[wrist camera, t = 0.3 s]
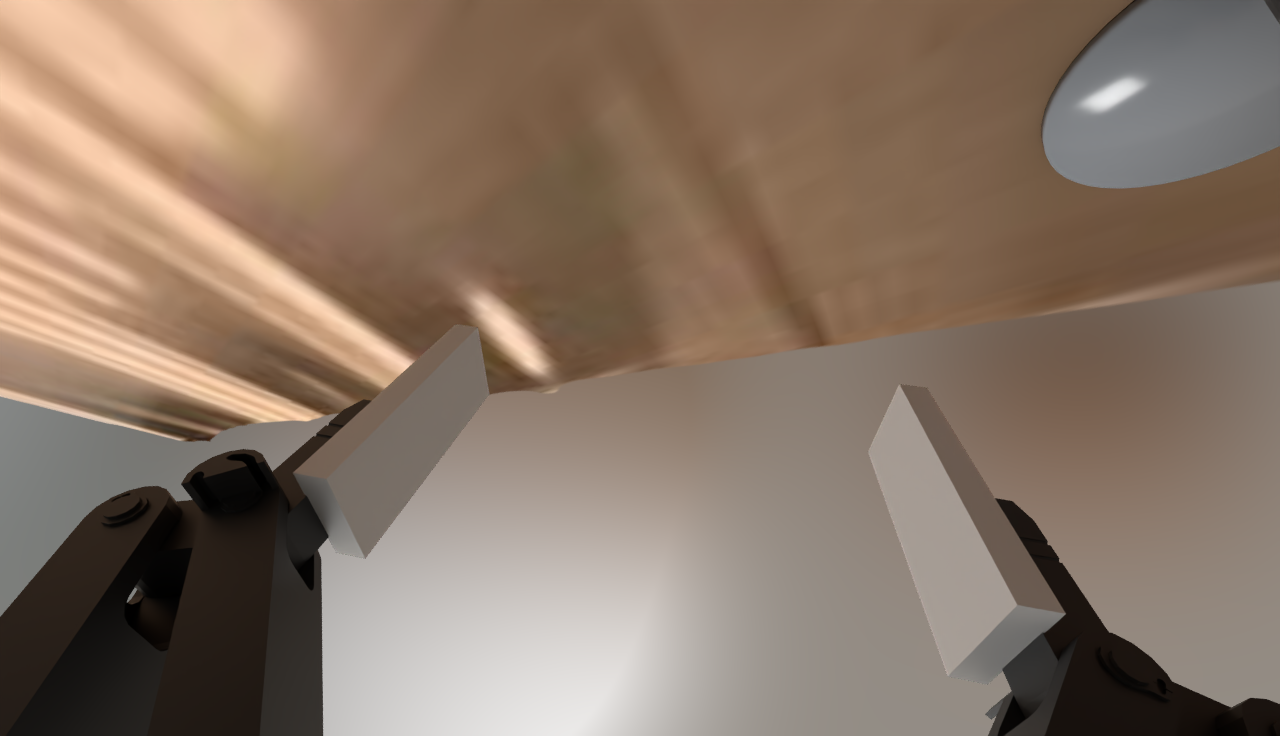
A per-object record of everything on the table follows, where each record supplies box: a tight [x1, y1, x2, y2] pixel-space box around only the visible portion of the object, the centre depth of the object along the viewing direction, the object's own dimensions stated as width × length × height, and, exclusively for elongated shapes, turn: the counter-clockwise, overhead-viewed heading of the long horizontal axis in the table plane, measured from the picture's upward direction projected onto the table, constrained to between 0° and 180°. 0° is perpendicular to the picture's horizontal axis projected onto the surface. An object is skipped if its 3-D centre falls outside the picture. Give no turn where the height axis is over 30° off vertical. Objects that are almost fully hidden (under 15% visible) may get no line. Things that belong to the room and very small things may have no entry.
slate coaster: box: [1041, 0, 1280, 188], centre depth 17 cm, size 10×10×1 cm
